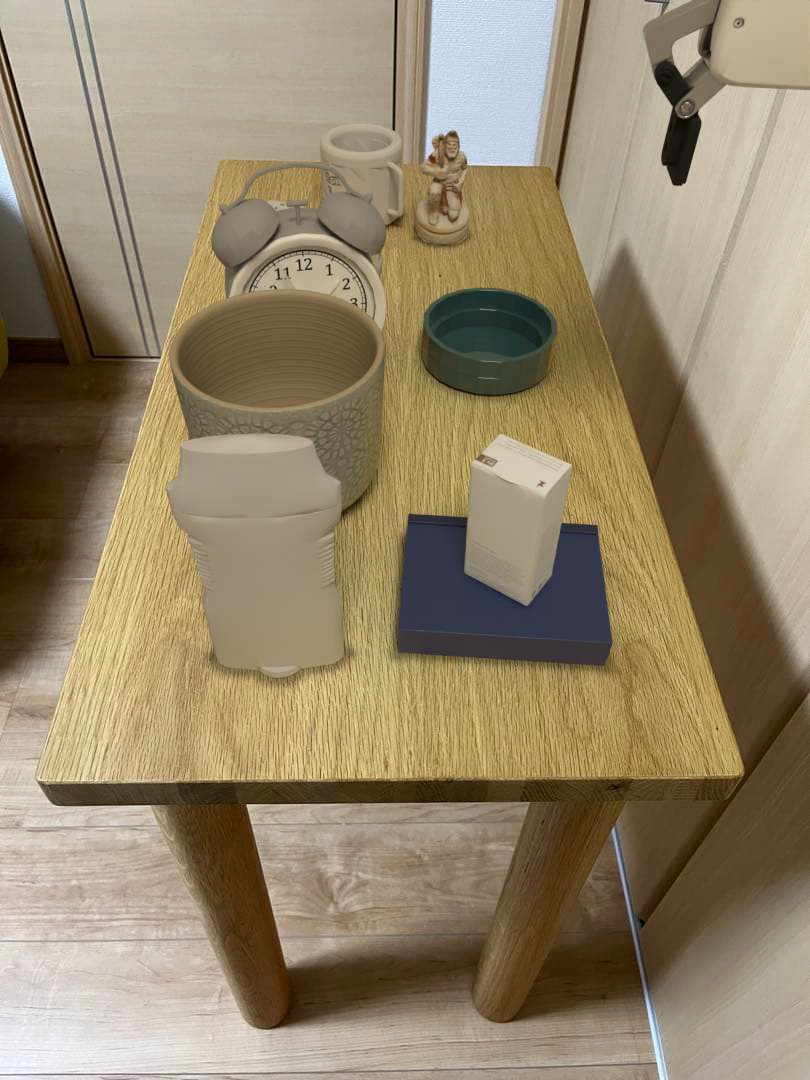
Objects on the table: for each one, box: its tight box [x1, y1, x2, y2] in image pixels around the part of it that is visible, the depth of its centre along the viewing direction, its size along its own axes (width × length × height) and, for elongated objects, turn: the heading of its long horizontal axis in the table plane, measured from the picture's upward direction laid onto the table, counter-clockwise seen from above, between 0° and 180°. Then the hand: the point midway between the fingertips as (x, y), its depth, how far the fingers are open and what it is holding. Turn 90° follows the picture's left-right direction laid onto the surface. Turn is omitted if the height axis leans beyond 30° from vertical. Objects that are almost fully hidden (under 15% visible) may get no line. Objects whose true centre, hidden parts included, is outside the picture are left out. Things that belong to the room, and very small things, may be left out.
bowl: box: [421, 287, 559, 396], centre depth 89 cm, size 14×14×4 cm
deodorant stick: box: [164, 434, 345, 679], centre depth 55 cm, size 11×4×22 cm, turn 93°
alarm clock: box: [210, 161, 388, 333], centre depth 80 cm, size 16×9×22 cm, turn 102°
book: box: [397, 513, 613, 667], centre depth 66 cm, size 16×12×3 cm
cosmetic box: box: [464, 433, 573, 606], centre depth 61 cm, size 6×4×12 cm
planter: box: [168, 289, 386, 513], centre depth 71 cm, size 17×17×15 cm
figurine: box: [414, 129, 470, 246], centre depth 104 cm, size 7×7×15 cm
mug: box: [319, 123, 405, 226], centre depth 109 cm, size 14×11×10 cm
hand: (750, 180), depth 52 cm, fingers open, 9 cm apart
